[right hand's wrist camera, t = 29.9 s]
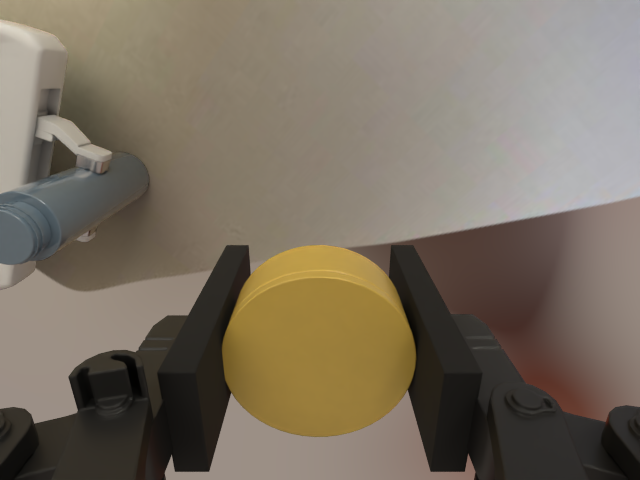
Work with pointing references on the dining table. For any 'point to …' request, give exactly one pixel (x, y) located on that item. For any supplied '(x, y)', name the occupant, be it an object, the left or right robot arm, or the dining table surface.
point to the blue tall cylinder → (65, 207)
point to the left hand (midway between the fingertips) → (100, 198)
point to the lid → (318, 343)
